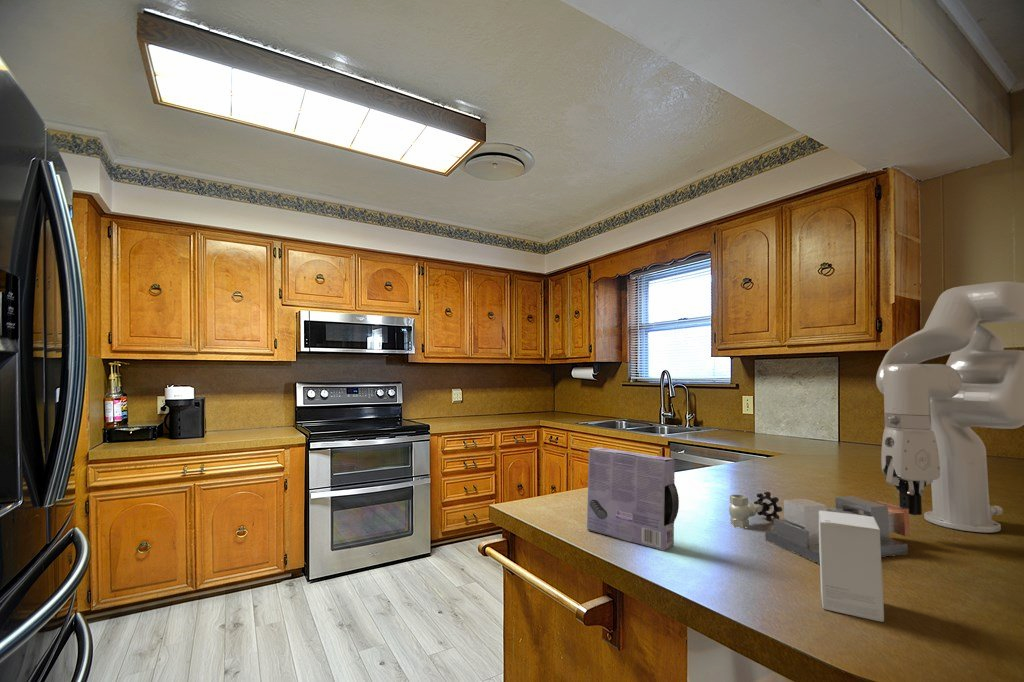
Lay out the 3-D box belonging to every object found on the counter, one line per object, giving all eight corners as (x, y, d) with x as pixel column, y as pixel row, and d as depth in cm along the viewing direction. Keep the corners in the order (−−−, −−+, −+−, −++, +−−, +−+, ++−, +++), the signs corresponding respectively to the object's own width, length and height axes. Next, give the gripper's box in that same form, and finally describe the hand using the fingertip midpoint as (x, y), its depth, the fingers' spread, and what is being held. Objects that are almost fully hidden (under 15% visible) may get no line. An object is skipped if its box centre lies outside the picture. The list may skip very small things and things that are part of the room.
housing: (811, 533, 97) (809, 497, 97) (832, 542, 92) (831, 504, 92) (785, 535, 95) (783, 499, 96) (805, 544, 90) (804, 506, 91)
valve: (746, 532, 104) (783, 524, 109) (745, 500, 104) (781, 494, 109) (720, 523, 110) (757, 516, 115) (720, 494, 110) (756, 488, 115)
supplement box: (885, 623, 66) (881, 529, 67) (821, 609, 70) (817, 520, 71) (879, 601, 72) (875, 515, 73) (820, 590, 76) (817, 508, 77)
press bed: (845, 532, 103) (843, 492, 104) (907, 554, 91) (905, 509, 91) (765, 539, 99) (764, 498, 99) (819, 564, 86) (817, 516, 87)
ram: (880, 526, 101) (879, 500, 101) (909, 535, 95) (908, 508, 96) (825, 531, 98) (824, 505, 98) (852, 541, 92) (851, 513, 92)
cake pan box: (681, 546, 95) (679, 456, 96) (669, 553, 92) (667, 459, 93) (598, 525, 108) (597, 446, 109) (585, 531, 105) (584, 448, 106)
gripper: (896, 424, 95) (900, 520, 94) (955, 425, 98) (959, 517, 97) (861, 421, 102) (864, 509, 101) (916, 421, 106) (920, 507, 104)
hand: (910, 513), depth 99 cm, fingers closed
